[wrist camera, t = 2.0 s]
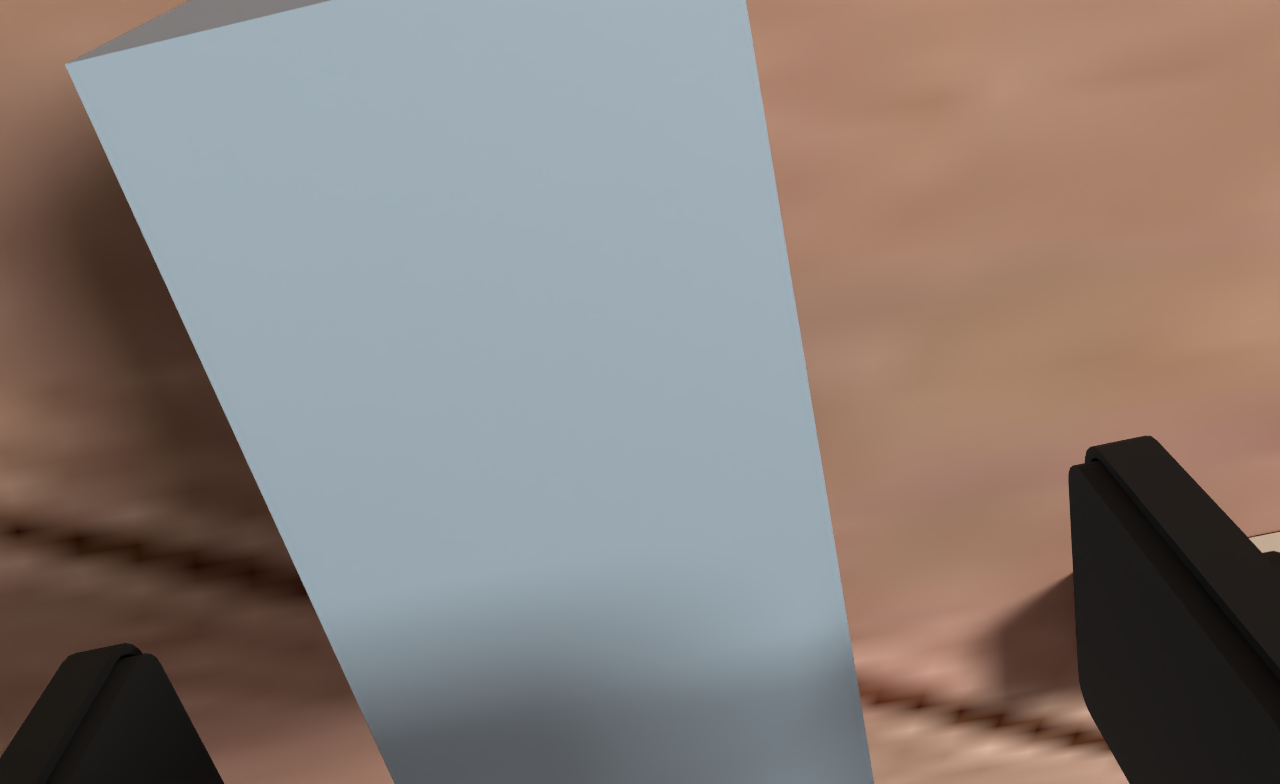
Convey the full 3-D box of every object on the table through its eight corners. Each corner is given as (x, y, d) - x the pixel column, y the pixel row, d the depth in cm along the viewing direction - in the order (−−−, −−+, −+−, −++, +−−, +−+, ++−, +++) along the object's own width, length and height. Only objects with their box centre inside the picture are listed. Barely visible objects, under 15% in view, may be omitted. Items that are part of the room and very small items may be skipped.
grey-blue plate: (346, -80, 16) (64, 63, 7) (647, -154, 16) (730, -95, 7) (551, 564, 22) (531, 1083, 13) (776, 518, 22) (912, 1016, 13)
